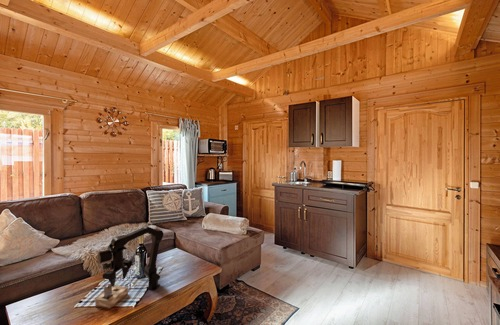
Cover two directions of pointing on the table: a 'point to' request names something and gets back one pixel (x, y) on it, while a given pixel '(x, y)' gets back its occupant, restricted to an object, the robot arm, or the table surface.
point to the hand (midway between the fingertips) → (118, 282)
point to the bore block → (117, 295)
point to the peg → (107, 291)
